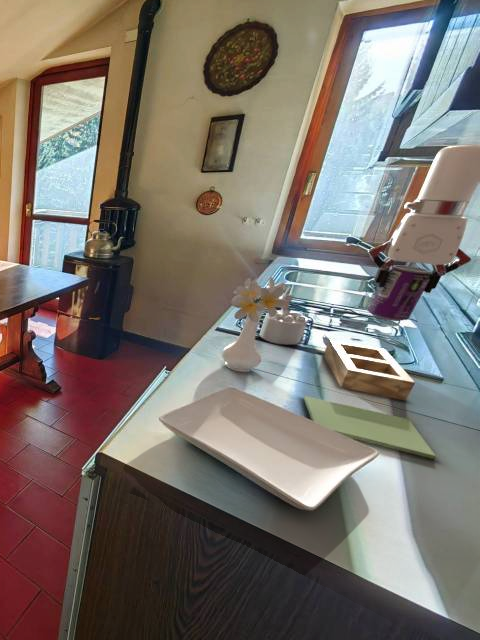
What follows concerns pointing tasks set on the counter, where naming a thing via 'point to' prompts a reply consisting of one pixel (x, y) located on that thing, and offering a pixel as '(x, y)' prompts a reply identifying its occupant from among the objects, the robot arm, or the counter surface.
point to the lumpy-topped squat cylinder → (284, 327)
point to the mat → (368, 426)
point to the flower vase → (253, 320)
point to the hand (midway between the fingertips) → (401, 288)
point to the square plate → (270, 445)
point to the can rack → (367, 370)
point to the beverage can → (399, 293)
